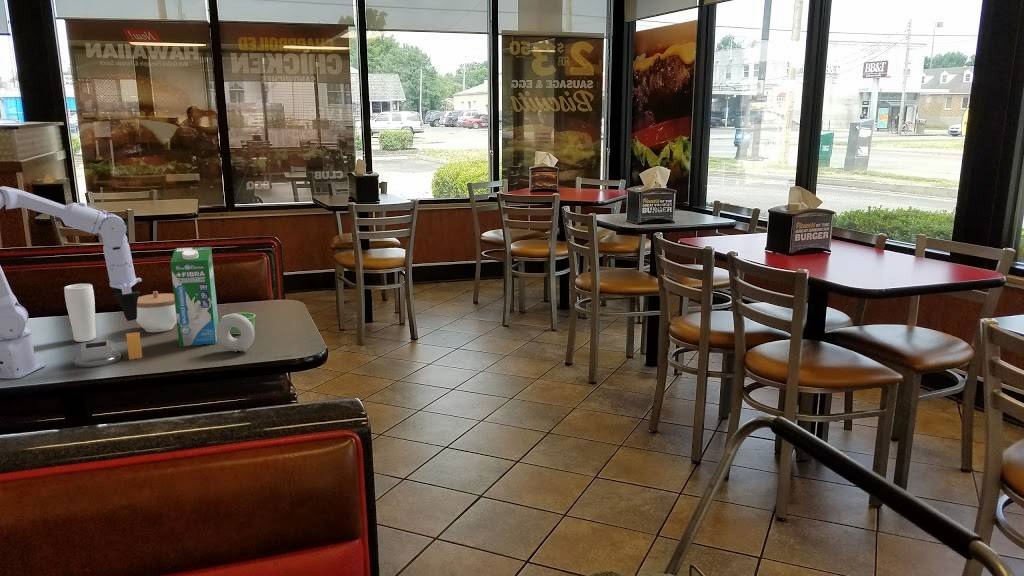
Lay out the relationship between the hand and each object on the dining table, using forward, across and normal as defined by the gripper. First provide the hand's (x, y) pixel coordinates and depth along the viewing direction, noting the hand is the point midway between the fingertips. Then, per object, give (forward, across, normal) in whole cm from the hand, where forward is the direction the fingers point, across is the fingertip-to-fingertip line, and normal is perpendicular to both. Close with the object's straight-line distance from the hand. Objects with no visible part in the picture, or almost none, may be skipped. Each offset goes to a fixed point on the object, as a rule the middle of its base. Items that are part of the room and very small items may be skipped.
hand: (130, 316), depth 184 cm
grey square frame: (+10, 0, +9) cm, 13 cm away
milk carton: (+12, +6, -15) cm, 20 cm away
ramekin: (+12, +10, -27) cm, 31 cm away
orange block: (+10, -1, +1) cm, 10 cm away
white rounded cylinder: (+10, +24, +11) cm, 28 cm away
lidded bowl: (+11, +25, -8) cm, 28 cm away
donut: (+12, -10, -22) cm, 27 cm away
